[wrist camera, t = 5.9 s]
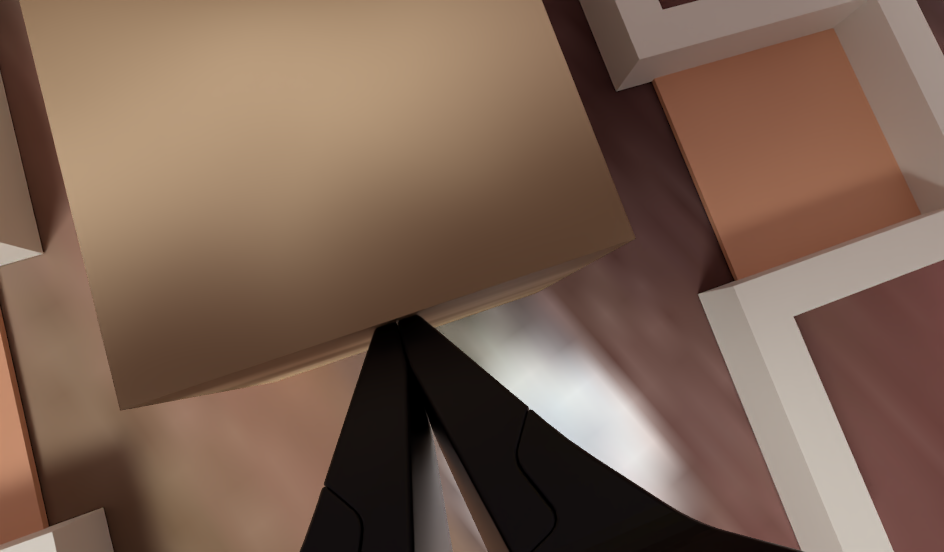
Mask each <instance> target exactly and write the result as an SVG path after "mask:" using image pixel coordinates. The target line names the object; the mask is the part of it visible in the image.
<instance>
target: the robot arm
mask: <svg viewBox="0 0 944 552" xmlns="http://www.w3.org/2000/svg"><path fill="white" fill-rule="evenodd" d="M429 422H430V423H429ZM430 424H431V427H432V430H433V432H434V435H435V437H436V439H437V442H438V444H439V446H440V448H441V450H442V453H443V455H444V457H445V459H446V461H447V463H448V466H449V468H450V470H451V472H452V474H453V476H454V479H455V481H456V483H457V485H458V487H459V489H460V492H461V494H462V496H463V498H464V500H465V502H466V505H467V507H468V509H469V511H470V513H471V515H472V518H473V520H474V522H475V524H476V526H477V528H478V531H479V533H480V535H481V537H482V539H483V542H484V544H485V546H486V548H487V550H488V552H804V551H800V550H796V549H793V548H789V547H785V546H781V545H778V544H774V543H770V542H766V541H763V540H759V539H755V538H751V537H748V536H744V535H740V534H736V533H733V532H729V531H725V530H722V529H718V528H715V527H712V526H710V525H707V524H704V523H702V522H700V521H697V520H695V519H693V518H691V517H689V516H687V515H685V514H683V513H681V512H679V511H678V510H676V509H674V508H673V507H671V506H669V505H668V504H666V503H665V502H663V501H662V500H660V499H658V498H657V497H655V496H654V495H652V494H651V493H649V492H648V491H646V490H644V489H643V488H641V487H640V486H638V485H637V484H635V483H634V482H632V481H630V480H629V479H627V478H626V477H624V476H623V475H621V474H620V473H618V472H617V471H615V470H613V469H612V468H610V467H609V466H607V465H606V464H604V463H603V462H601V461H599V460H598V459H596V458H595V457H593V456H592V455H591V454H589V453H588V452H586V451H585V450H583V449H582V448H580V447H579V446H577V445H576V444H575V443H573V442H572V441H570V440H569V439H568V438H566V437H565V436H564V435H562V434H561V433H560V432H559V431H557V430H556V429H555V428H554V427H552V426H551V425H550V424H548V423H547V422H546V421H545V420H544V419H542V418H541V417H540V416H539V415H538V414H536V413H535V412H534V411H533V410H529V407H528V406H527V405H525V404H524V403H523V402H522V401H521V400H519V399H518V398H517V397H516V396H515V395H514V394H512V393H511V392H510V391H509V390H508V389H506V388H505V387H504V386H503V385H502V384H500V383H499V382H498V381H497V380H496V379H495V378H493V377H492V376H491V375H490V374H489V373H487V372H486V371H485V370H484V369H483V368H482V367H480V366H479V365H478V364H477V363H476V362H474V361H473V360H472V359H471V358H470V357H468V356H467V355H466V354H465V353H464V352H463V351H461V350H460V349H459V348H458V347H457V346H455V345H454V344H453V343H452V342H451V341H449V340H448V339H447V338H446V337H445V336H444V335H442V334H441V333H440V332H439V331H438V330H436V329H435V328H434V327H433V326H432V325H430V324H429V323H428V322H427V321H426V320H425V319H423V318H422V317H421V316H419V315H413V316H410V317H407V318H404V319H402V320H399V321H398V325H397V323H396V322H393V323H390V324H387V325H384V326H381V327H378V328H376V329H375V330H374V333H373V336H372V339H371V342H370V345H369V348H368V351H367V354H366V357H365V360H364V363H363V366H362V369H361V372H360V375H359V378H358V381H357V384H356V387H355V390H354V393H353V397H352V400H351V403H350V406H349V409H348V412H347V415H346V418H345V421H344V424H343V427H342V430H341V433H340V436H339V439H338V442H337V445H336V448H335V451H334V454H333V457H332V460H331V463H330V466H329V470H328V473H327V476H326V479H325V482H324V486H325V487H323V488H322V490H321V493H320V496H319V499H318V502H317V505H316V509H315V512H314V514H313V517H312V520H311V523H310V525H309V528H308V531H307V534H306V536H305V539H304V542H303V545H302V547H301V549H300V552H453V551H452V545H451V539H450V533H449V528H448V522H447V516H446V510H445V504H444V498H443V493H442V487H441V481H440V475H439V469H438V463H437V457H436V452H435V446H434V440H433V435H432V431H431V427H430Z"/></svg>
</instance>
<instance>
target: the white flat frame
mask: <svg viewBox="0 0 944 552" xmlns="http://www.w3.org/2000/svg"><path fill="white" fill-rule="evenodd" d="M579 1H580V4H581V6H582V9H583V11H584V14H585V16H586V18H587V21H588V23H589V26H590V28H591V31H592V33H593V36H594V38H595V41H596V43H597V46H598V48H599V51H600V53H601V56H602V58H603V61H604V63H605V65H606V68H607V70H608V73H609V75H610V78H611V80H612V83H613V85H614V88H615V90H616V91H620V90H623V89H627V88H631V87H634V86H638V85H641V84H645V83H648V82H652V83H653V86H654V88H655V90H656V93H657V95H658V98H659V100H660V102H661V105H662V107H663V110H664V112H665V114H666V117H667V119H668V122H669V124H670V126H671V129H672V131H673V134H674V136H675V139H676V141H677V143H678V146H679V148H680V151H681V153H682V155H683V158H684V160H685V163H686V165H687V167H688V170H689V172H690V175H691V177H692V179H693V182H694V184H695V187H696V189H697V192H698V194H699V196H700V199H701V201H702V204H703V206H704V208H705V211H706V213H707V216H708V218H709V220H710V223H711V225H712V228H713V230H714V232H715V235H716V237H717V240H718V242H719V245H720V247H721V249H722V252H723V254H724V257H725V259H726V261H727V264H728V266H729V269H730V271H731V273H732V276H733V278H734V281H733V282H730V283H727V284H725V285H722V286H719V287H716V288H713V289H711V290H708V291H705V292H702V293H700V294H698V296H699V298H700V301H701V303H702V306H703V308H704V310H705V313H706V315H707V318H708V320H709V323H710V325H711V328H712V330H713V333H714V335H715V338H716V340H717V343H718V345H719V348H720V350H721V353H722V355H723V357H724V360H725V362H726V365H727V367H728V370H729V372H730V375H731V377H732V380H733V382H734V385H735V387H736V390H737V392H738V395H739V397H740V400H741V402H742V405H743V407H744V409H745V412H746V414H747V417H748V419H749V422H750V424H751V427H752V429H753V432H754V434H755V437H756V439H757V442H758V444H759V447H760V449H761V452H762V454H763V456H764V459H765V461H766V464H767V466H768V469H769V471H770V474H771V476H772V479H773V481H774V484H775V486H776V489H777V491H778V494H779V496H780V499H781V501H782V503H783V506H784V508H785V511H786V513H787V516H788V518H789V521H790V523H791V526H792V528H793V531H794V533H795V536H796V538H797V541H798V543H799V546H800V548H801V551H804V552H894V551H893V549H892V546H891V544H890V542H889V539H888V537H887V535H886V532H885V530H884V528H883V525H882V523H881V521H880V518H879V516H878V514H877V511H876V509H875V507H874V504H873V502H872V500H871V497H870V495H869V493H868V490H867V488H866V485H865V483H864V481H863V478H862V476H861V474H860V471H859V469H858V467H857V464H856V462H855V460H854V457H853V455H852V453H851V450H850V448H849V446H848V443H847V441H846V439H845V436H844V434H843V432H842V429H841V427H840V425H839V422H838V420H837V417H836V415H835V413H834V410H833V408H832V406H831V403H830V401H829V399H828V396H827V394H826V392H825V389H824V387H823V385H822V382H821V380H820V378H819V375H818V373H817V371H816V368H815V366H814V364H813V361H812V359H811V357H810V354H809V352H808V349H807V347H806V345H805V342H804V340H803V338H802V335H801V333H800V331H799V328H798V326H797V324H796V321H795V319H794V317H793V316H796V315H799V314H801V313H804V312H807V311H809V310H812V309H814V308H817V307H820V306H822V305H825V304H828V303H830V302H833V301H836V300H838V299H841V298H844V297H846V296H849V295H851V294H854V293H857V292H859V291H862V290H865V289H867V288H870V287H873V286H875V285H878V284H881V283H883V282H886V281H888V280H891V279H894V278H896V277H899V276H902V275H904V274H907V273H910V272H912V271H915V270H918V269H920V268H923V267H925V266H928V265H931V264H933V263H936V262H939V261H941V260H944V55H943V53H942V51H941V49H940V47H939V45H938V43H937V41H936V39H935V37H934V35H933V33H932V31H931V29H930V27H929V25H928V23H927V21H926V19H925V17H924V15H923V13H922V11H921V9H920V7H919V5H918V3H917V1H916V0H698V1H694V2H690V3H687V4H683V5H679V6H675V7H671V8H667V9H664V10H663V9H662V7H661V5H660V2H659V0H579ZM40 254H43V250H42V246H41V242H40V237H39V233H38V229H37V225H36V220H35V216H34V212H33V208H32V204H31V199H30V195H29V191H28V187H27V182H26V178H25V174H24V170H23V165H22V161H21V157H20V153H19V149H18V144H17V140H16V136H15V132H14V127H13V123H12V119H11V115H10V110H9V106H8V102H7V98H6V94H5V89H4V85H3V81H2V77H1V72H0V266H2V265H5V264H9V263H12V262H16V261H19V260H23V259H26V258H30V257H33V256H37V255H40ZM0 552H114V550H113V546H112V542H111V538H110V534H109V529H108V525H107V521H106V517H105V512H104V508H100V509H97V510H94V511H92V512H89V513H86V514H83V515H81V516H78V517H75V518H72V519H69V520H67V521H64V522H61V523H58V524H55V525H53V526H50V527H49V525H48V520H47V516H46V511H45V506H44V502H43V497H42V493H41V488H40V484H39V479H38V475H37V470H36V466H35V461H34V457H33V452H32V448H31V443H30V439H29V434H28V430H27V425H26V421H25V416H24V412H23V407H22V403H21V398H20V394H19V389H18V385H17V380H16V376H15V371H14V367H13V362H12V358H11V353H10V349H9V344H8V340H7V335H6V331H5V326H4V322H3V317H2V313H1V308H0Z"/></svg>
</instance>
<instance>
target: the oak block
mask: <svg viewBox="0 0 944 552" xmlns="http://www.w3.org/2000/svg"><path fill="white" fill-rule="evenodd" d="M19 2H20V6H21V10H22V14H23V18H24V22H25V26H26V30H27V34H28V38H29V42H30V46H31V51H32V55H33V59H34V63H35V67H36V71H37V75H38V79H39V83H40V87H41V91H42V95H43V99H44V103H45V107H46V111H47V115H48V119H49V123H50V128H51V132H52V136H53V140H54V144H55V148H56V152H57V156H58V160H59V164H60V168H61V172H62V176H63V180H64V184H65V188H66V192H67V196H68V201H69V205H70V209H71V213H72V217H73V221H74V225H75V229H76V233H77V237H78V241H79V245H80V249H81V253H82V257H83V261H84V265H85V269H86V273H87V278H88V282H89V286H90V290H91V294H92V298H93V302H94V306H95V310H96V314H97V318H98V322H99V326H100V330H101V334H102V338H103V342H104V346H105V351H106V355H107V359H108V363H109V367H110V371H111V375H112V379H113V383H114V387H115V391H116V395H117V399H118V403H119V407H120V411H121V410H126V409H132V408H137V407H142V406H148V405H153V404H159V403H164V402H170V401H175V400H180V399H186V398H191V397H197V396H202V395H208V394H213V393H219V392H224V391H229V390H235V389H240V388H246V387H251V386H257V385H262V384H267V383H273V382H276V381H279V380H282V379H285V378H288V377H291V376H294V375H297V374H300V373H303V372H306V371H309V370H312V369H315V368H318V367H321V366H323V365H326V364H329V363H332V362H335V361H338V360H341V359H344V358H347V357H350V356H353V355H356V354H359V353H362V352H365V351H367V350H368V348H369V345H370V342H371V339H372V336H373V333H374V330H375V329H376V328H378V327H381V326H384V325H387V324H390V323H393V322H396V323H397V325H398V321H399V320H402V319H404V318H407V317H410V316H413V315H419V316H421V317H422V318H423V319H425V320H426V321H427V322H428V323H429V324H430V325H432V326H433V327H434V328H435V327H438V326H441V325H444V324H447V323H450V322H453V321H456V320H459V319H461V318H464V317H467V316H470V315H473V314H476V313H479V312H482V311H485V310H488V309H491V308H494V307H497V306H500V305H503V304H505V303H508V302H511V301H514V300H517V299H520V298H523V297H526V296H529V295H532V294H535V293H537V292H539V291H541V290H543V289H545V288H547V287H548V286H550V285H552V284H554V283H556V282H557V281H559V280H561V279H563V278H565V277H567V276H568V275H570V274H572V273H574V272H576V271H577V270H579V269H581V268H583V267H585V266H587V265H588V264H590V263H592V262H594V261H596V260H598V259H599V258H601V257H603V256H605V255H607V254H608V253H610V252H612V251H614V250H616V249H618V248H619V247H621V246H623V245H625V244H627V243H628V242H630V241H632V240H634V239H636V238H635V235H634V233H633V230H632V228H631V225H630V223H629V220H628V218H627V215H626V213H625V210H624V208H623V205H622V203H621V200H620V197H619V195H618V192H617V190H616V187H615V185H614V182H613V180H612V177H611V175H610V172H609V170H608V167H607V165H606V162H605V159H604V157H603V154H602V152H601V149H600V147H599V144H598V142H597V139H596V137H595V134H594V132H593V129H592V127H591V124H590V121H589V119H588V116H587V114H586V111H585V109H584V106H583V104H582V101H581V99H580V96H579V94H578V91H577V89H576V86H575V83H574V81H573V78H572V76H571V73H570V71H569V68H568V66H567V63H566V61H565V58H564V56H563V53H562V51H561V48H560V45H559V43H558V40H557V38H556V35H555V33H554V30H553V28H552V25H551V23H550V20H549V18H548V15H547V12H546V10H545V7H544V5H543V2H542V0H19Z"/></svg>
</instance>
